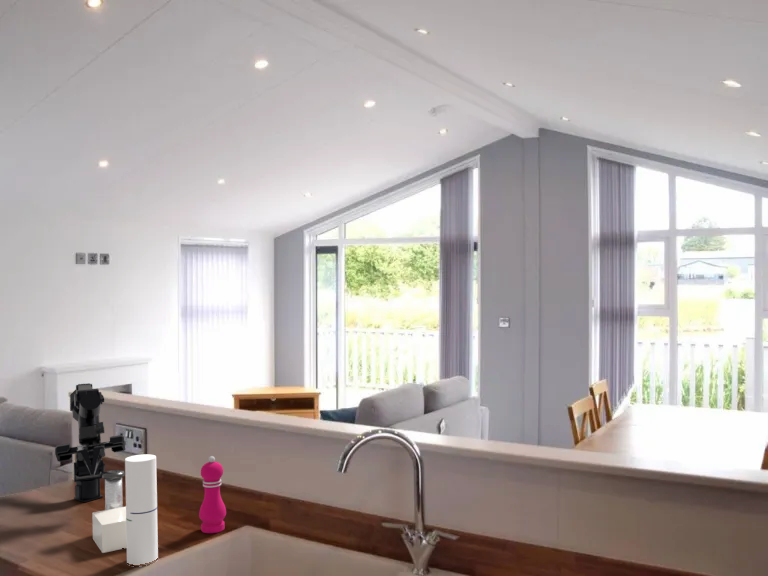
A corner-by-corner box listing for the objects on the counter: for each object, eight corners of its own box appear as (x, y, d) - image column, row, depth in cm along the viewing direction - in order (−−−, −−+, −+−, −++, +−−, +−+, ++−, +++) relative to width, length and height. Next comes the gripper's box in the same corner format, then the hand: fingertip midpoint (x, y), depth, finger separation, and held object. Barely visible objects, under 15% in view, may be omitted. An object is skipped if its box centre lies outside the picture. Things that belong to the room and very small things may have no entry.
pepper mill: (222, 534, 188) (221, 459, 188) (195, 534, 188) (194, 459, 188) (229, 524, 195) (228, 453, 195) (203, 525, 195) (202, 453, 195)
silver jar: (101, 529, 192) (100, 472, 192) (122, 525, 195) (121, 468, 195) (113, 546, 180) (112, 484, 179) (136, 541, 183) (135, 481, 183)
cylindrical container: (148, 567, 166) (146, 462, 166) (120, 565, 168) (119, 461, 168) (163, 555, 173) (161, 454, 173) (137, 554, 175) (135, 453, 175)
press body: (92, 538, 186) (92, 512, 186) (139, 529, 192) (139, 504, 192) (102, 553, 176) (102, 525, 176) (151, 542, 182) (150, 515, 182)
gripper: (51, 419, 201) (53, 469, 193) (120, 408, 208) (125, 457, 199) (57, 436, 210) (58, 485, 201) (123, 426, 216) (127, 473, 208)
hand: (92, 475), depth 202 cm, fingers closed
